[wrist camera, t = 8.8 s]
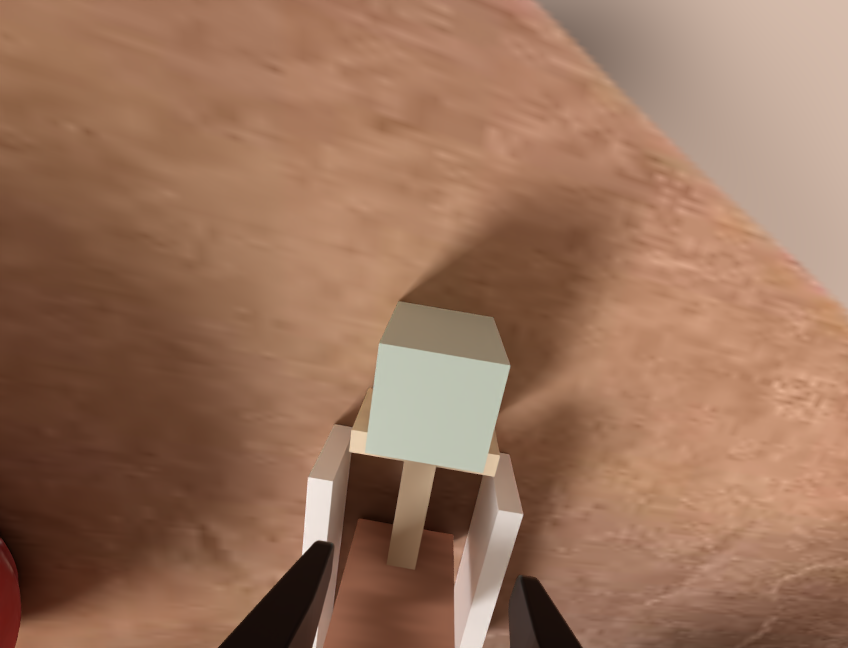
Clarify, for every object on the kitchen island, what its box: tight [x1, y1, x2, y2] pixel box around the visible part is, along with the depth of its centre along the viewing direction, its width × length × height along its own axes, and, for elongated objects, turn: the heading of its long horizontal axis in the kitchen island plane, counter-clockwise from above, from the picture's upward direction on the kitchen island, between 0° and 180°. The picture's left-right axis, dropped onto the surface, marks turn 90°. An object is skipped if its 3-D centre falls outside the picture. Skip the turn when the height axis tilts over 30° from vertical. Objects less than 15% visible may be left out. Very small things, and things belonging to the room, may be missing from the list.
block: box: [365, 301, 511, 473], centre depth 18 cm, size 5×5×6 cm
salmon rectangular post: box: [323, 388, 500, 648], centre depth 19 cm, size 7×11×9 cm, turn 171°
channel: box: [302, 424, 523, 648], centre depth 23 cm, size 10×17×4 cm, turn 171°
